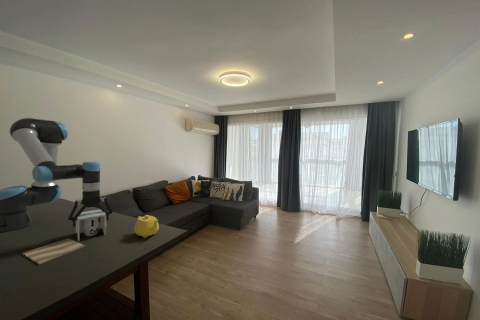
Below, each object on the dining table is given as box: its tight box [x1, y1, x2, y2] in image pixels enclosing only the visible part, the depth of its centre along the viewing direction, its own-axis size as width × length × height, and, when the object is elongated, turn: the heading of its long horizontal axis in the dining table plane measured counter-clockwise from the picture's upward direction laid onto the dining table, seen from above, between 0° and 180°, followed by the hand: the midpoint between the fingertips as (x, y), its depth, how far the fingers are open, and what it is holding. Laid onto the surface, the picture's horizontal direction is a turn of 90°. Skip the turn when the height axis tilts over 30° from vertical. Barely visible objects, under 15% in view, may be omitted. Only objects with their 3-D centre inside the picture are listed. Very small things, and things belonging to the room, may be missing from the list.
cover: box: [76, 208, 107, 242], centre depth 103 cm, size 12×12×12 cm
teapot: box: [133, 214, 160, 239], centre depth 105 cm, size 18×11×11 cm, turn 60°
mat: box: [22, 237, 86, 265], centre depth 86 cm, size 16×16×1 cm
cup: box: [81, 216, 101, 237], centre depth 103 cm, size 8×8×10 cm
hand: (91, 229), depth 103 cm, fingers closed on cover, 12 cm apart
